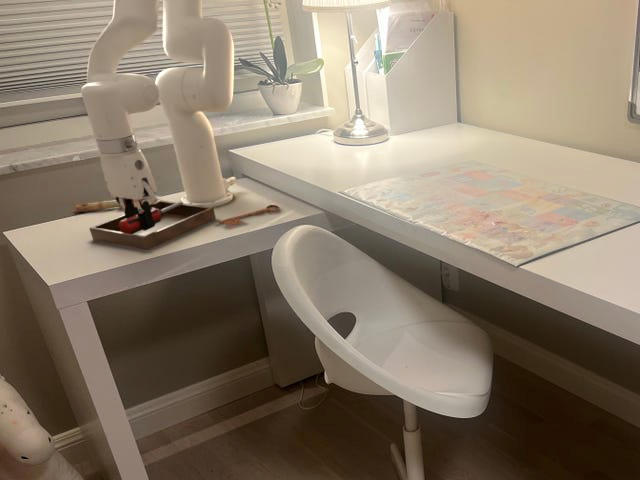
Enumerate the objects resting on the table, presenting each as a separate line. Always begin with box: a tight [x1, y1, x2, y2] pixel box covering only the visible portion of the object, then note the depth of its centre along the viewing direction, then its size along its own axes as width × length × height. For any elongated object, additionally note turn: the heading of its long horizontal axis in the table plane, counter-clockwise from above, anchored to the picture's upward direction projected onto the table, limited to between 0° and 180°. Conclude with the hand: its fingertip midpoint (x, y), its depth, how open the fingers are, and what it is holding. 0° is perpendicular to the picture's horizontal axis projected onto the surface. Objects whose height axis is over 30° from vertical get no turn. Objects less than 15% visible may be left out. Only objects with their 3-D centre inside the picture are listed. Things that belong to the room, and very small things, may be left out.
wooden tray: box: [89, 199, 217, 251], centre depth 165 cm, size 21×17×3 cm
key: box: [218, 204, 281, 227], centre depth 172 cm, size 6×1×15 cm
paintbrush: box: [74, 195, 163, 213], centre depth 180 cm, size 4×3×20 cm
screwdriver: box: [119, 200, 183, 234], centre depth 165 cm, size 17×3×3 cm, turn 155°
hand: (142, 226), depth 162 cm, fingers closed on screwdriver, 3 cm apart
